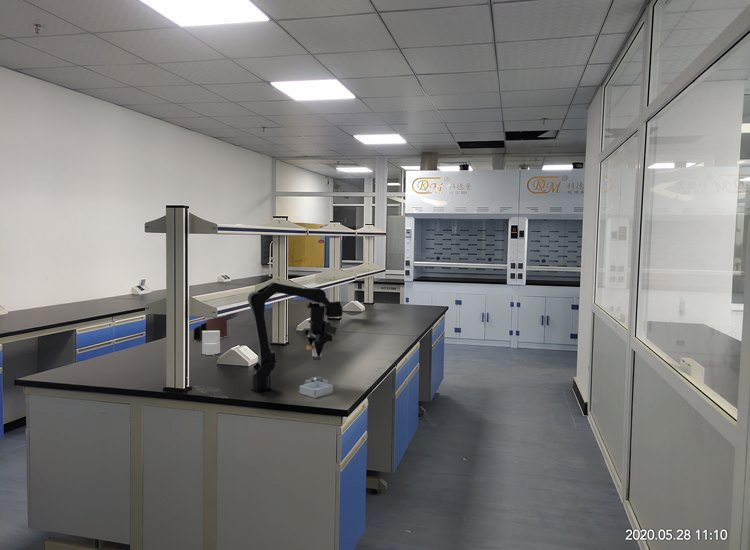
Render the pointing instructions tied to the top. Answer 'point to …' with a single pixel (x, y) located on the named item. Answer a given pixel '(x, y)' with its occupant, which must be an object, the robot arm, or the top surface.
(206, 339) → the cylinder with rectangular tab
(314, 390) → the bin
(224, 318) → the letter holder
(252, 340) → the top surface
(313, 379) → the mount
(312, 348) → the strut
